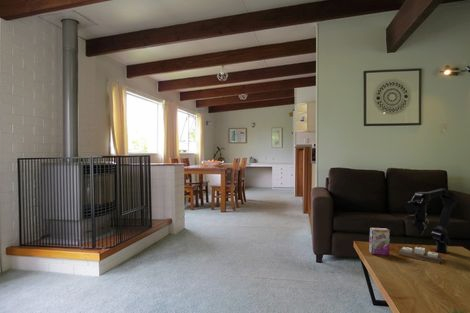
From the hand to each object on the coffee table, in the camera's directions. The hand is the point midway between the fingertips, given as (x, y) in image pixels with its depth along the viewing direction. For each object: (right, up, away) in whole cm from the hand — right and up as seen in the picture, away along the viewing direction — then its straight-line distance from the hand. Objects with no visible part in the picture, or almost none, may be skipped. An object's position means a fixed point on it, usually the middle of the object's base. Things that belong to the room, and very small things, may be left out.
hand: (420, 235), depth 198 cm
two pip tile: (-5, -9, -7) cm, 12 cm away
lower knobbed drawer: (+1, -11, -11) cm, 16 cm away
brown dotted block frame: (-5, -12, -7) cm, 14 cm away
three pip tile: (-10, -11, -2) cm, 15 cm away
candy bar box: (-28, -12, -1) cm, 30 cm away
